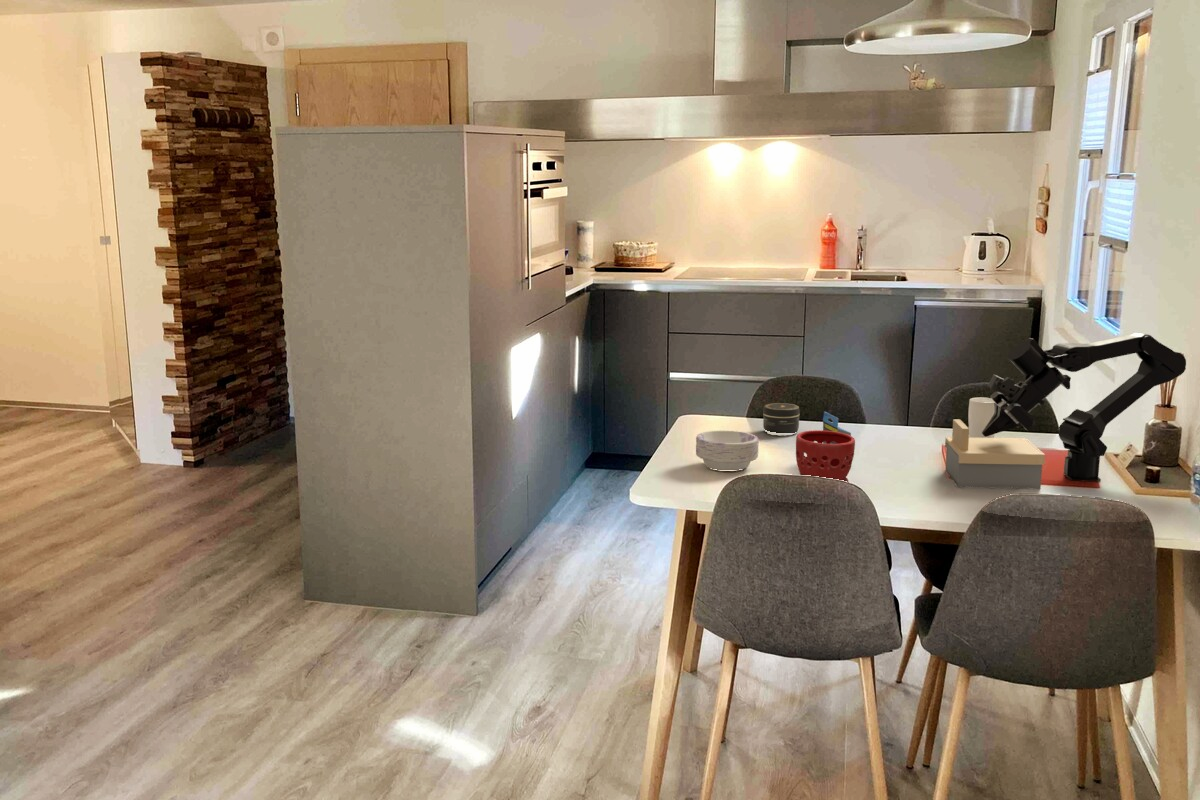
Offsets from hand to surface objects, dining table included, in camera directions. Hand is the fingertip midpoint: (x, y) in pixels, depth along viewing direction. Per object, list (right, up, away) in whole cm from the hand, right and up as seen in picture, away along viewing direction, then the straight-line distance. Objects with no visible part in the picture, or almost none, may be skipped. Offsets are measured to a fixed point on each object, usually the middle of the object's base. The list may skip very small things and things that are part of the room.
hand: (983, 435), depth 243 cm
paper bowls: (-57, -9, +16) cm, 60 cm away
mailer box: (+2, -10, +2) cm, 11 cm away
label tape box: (-30, -8, +19) cm, 36 cm away
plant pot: (-37, -12, -2) cm, 39 cm away
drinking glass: (+7, -7, +21) cm, 23 cm away
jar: (-38, -1, +52) cm, 64 cm away
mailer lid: (+2, -5, +1) cm, 5 cm away
